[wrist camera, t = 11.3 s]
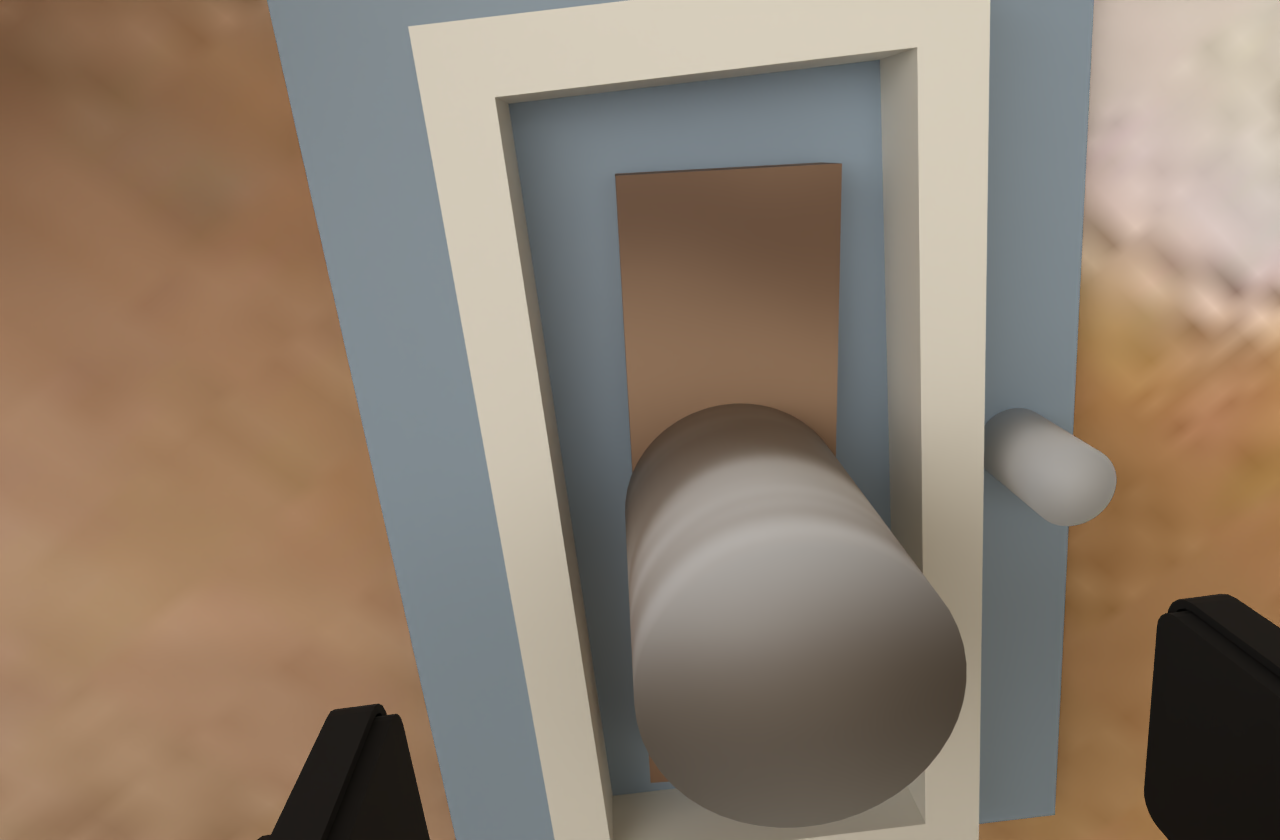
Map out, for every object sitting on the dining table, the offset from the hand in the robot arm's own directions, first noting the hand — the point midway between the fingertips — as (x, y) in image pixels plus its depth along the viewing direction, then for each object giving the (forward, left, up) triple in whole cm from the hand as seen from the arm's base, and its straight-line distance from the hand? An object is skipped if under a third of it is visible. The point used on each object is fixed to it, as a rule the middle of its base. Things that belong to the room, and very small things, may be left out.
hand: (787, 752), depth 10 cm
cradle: (0, 0, -9) cm, 9 cm away
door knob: (0, 0, -8) cm, 8 cm away
